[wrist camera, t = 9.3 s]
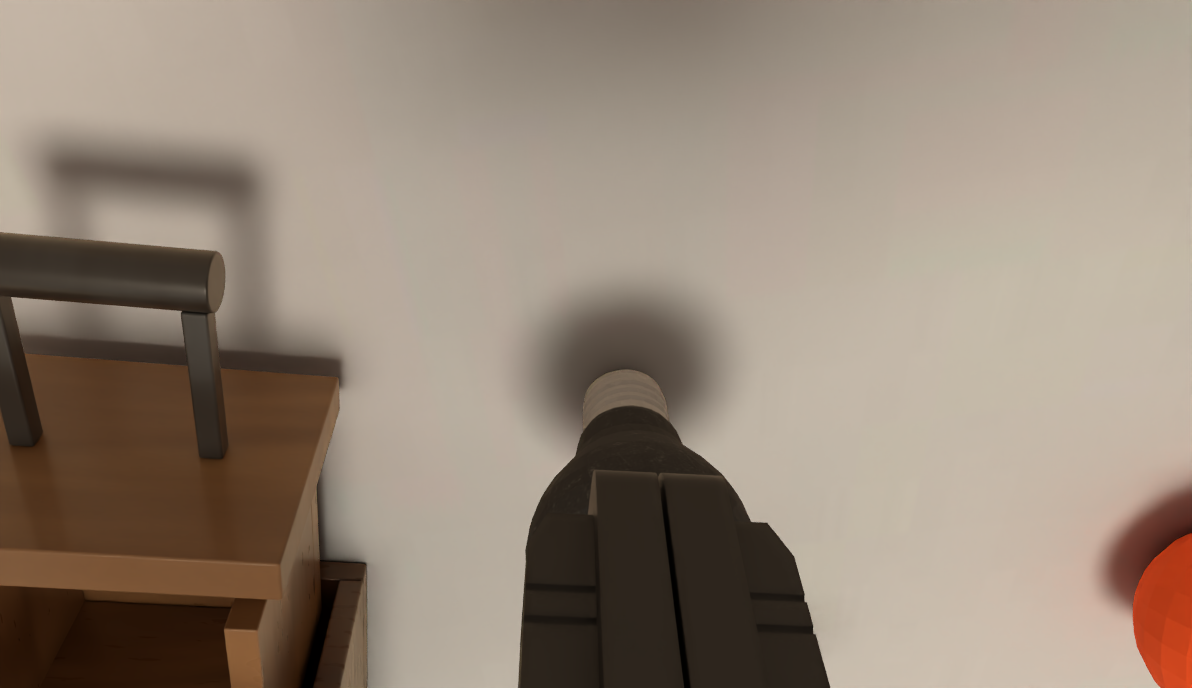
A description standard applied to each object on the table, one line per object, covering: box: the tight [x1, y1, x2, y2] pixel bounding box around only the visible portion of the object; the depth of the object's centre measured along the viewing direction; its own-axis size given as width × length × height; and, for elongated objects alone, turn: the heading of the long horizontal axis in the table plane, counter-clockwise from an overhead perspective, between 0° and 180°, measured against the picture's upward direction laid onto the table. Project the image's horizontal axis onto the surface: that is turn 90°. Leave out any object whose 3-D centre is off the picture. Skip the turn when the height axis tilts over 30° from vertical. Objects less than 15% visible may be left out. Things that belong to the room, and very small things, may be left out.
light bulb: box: [526, 369, 751, 553], centre depth 25 cm, size 6×6×10 cm
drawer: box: [0, 232, 340, 688], centre depth 25 cm, size 15×9×7 cm, turn 173°
